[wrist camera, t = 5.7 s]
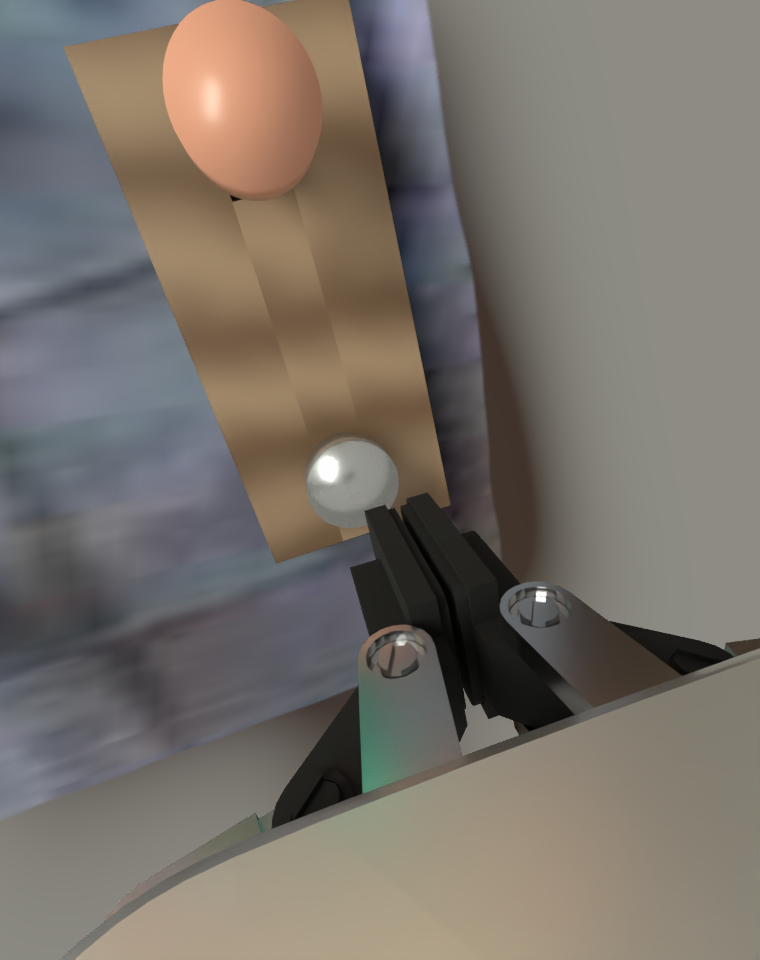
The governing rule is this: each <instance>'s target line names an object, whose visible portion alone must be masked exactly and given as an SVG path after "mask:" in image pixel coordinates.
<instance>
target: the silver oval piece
mask: <svg viewBox="0 0 760 960" xmlns="http://www.w3.org/2000/svg"><path fill="white" fill-rule="evenodd" d="M304 477H305V484H306V489H307V494H308V498H309V502H310V504H311V506H312V508H313V510H314V511H315V512H316V514H317V515H318V516H319V517H320V518H321V519H323V520H324V521H326V522H327V523H329V524H331V525H334V526H337V527H341V528H358V527H363V526H366V525H367V521H366V517H365V510H368V509H372V508H375V507H379V506H382V505H386V507H387V509H390V507H391V506H392V504H393V502H394V501H395V498H396V496H397V492H398V486H399V478H398V472H397V469H396V467H395V465H394V463H393V461H392V460H391V458H390V457H389V456H388V454H387V453H386V452H385V450H384V449H383V448H382V446H381V445H380V444H379V443H378V442H377V441H375V440H374V439H373V438H371V437H369V436H367V435H365V434H361V433H356V432H343V433H338V434H335V435H332V436H330V437H328V438H326V439H324V440H323V441H322V442H320V443H319V444H318V445H317V446H316V447H315V448H314V449H313V451H312V452H311V454H310V455H309V458H308V460H307V463H306V466H305V475H304Z"/></svg>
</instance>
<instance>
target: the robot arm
mask: <svg viewBox="0 0 760 960" xmlns="http://www.w3.org/2000/svg"><path fill="white" fill-rule="evenodd" d="M406 502H407V504H405V505H402V506H400V509H401V514H402V519H403V521H402V519H401V518H400V516H399V514H398V512H397V511H396V509H395V508H392V509H387V507H386V505H382V506H379V507H375V508H372V509H368V510H365V517H366V521H367V525H368V529H369V533H370V537H371V541H372V545H373V549H374V553H375V557H376V560H374V561H370V562H367V563H364V564H361V565H357V566H354V567H351V568H350V569H351V573H352V577H353V580H354V584H355V587H356V591H357V594H358V598H359V602H360V605H361V609H362V612H363V616H364V619H365V623H366V626H367V630H368V633H369V636H370V637H369V638H368V639H367V640H366V641H365V642H364V644H363V646H362V647H361V649H360V651H359V656H358V684H359V686H358V687H357V688H356V690H355V691H354V693H353V694H352V695H351V697H350V698H349V700H348V701H347V703H346V704H345V705H344V706H343V708H342V709H341V711H340V712H339V714H338V715H337V716H336V718H335V719H334V721H333V722H332V723H331V725H330V726H329V727H328V729H327V730H326V732H325V733H324V735H323V736H322V737H321V739H320V740H319V741H318V743H317V744H316V746H315V747H314V749H313V750H312V751H311V753H310V754H309V755H308V757H307V758H306V760H305V761H304V763H303V764H302V765H301V767H300V768H299V769H298V771H297V772H296V774H295V775H294V776H293V778H292V779H291V780H290V782H289V783H288V785H287V786H286V787H285V789H284V791H283V792H282V794H281V796H280V798H279V800H278V802H277V803H276V806H275V809H274V810H272V811H271V812H269V813H267V814H266V815H264V816H263V817H261V818H258V817H257V815H256V813H254V814H252V815H251V816H249V817H247V818H246V819H244V820H243V821H241V822H239V823H238V824H236V825H234V826H233V827H231V828H230V829H228V830H226V831H225V832H223V833H221V834H220V835H218V836H216V837H215V838H213V839H212V840H210V841H208V842H207V843H205V844H204V845H202V846H200V847H199V848H197V849H196V850H194V851H192V852H190V853H189V854H187V855H186V856H184V857H182V858H181V859H179V860H177V861H176V862H174V863H173V864H171V865H169V866H168V867H166V868H164V869H163V870H161V871H160V872H158V873H156V874H155V875H153V876H151V877H150V878H148V879H147V880H145V881H143V882H142V883H140V884H138V885H137V886H136V887H135V888H134V889H132V890H131V891H130V892H129V893H127V894H126V895H125V896H124V897H123V898H121V900H120V901H119V902H118V903H117V905H116V906H115V907H114V909H113V910H112V911H111V912H110V913H109V915H108V916H107V917H106V919H105V921H104V923H102V924H101V925H100V926H98V927H97V928H96V929H95V930H93V931H92V932H91V933H89V934H88V935H87V936H86V937H84V938H83V939H82V940H81V941H79V942H78V943H77V944H76V945H75V946H74V947H73V948H72V949H71V950H70V951H69V952H68V953H66V954H65V955H64V956H63V957H62V958H61V959H60V960H760V638H758V639H751V640H743V641H735V642H728V643H726V644H725V650H723V649H721V648H719V647H717V646H715V645H712V644H709V643H705V642H702V641H699V640H694V639H689V638H685V637H680V636H676V635H671V634H667V633H662V632H657V631H653V630H648V629H643V628H639V627H634V626H630V625H625V624H621V623H616V622H611V621H608V620H607V619H605V618H604V617H603V616H601V615H600V614H599V613H597V612H596V611H595V610H593V609H592V608H591V607H589V606H588V605H587V604H585V603H584V602H583V601H581V600H580V599H579V598H577V597H576V596H574V595H573V594H572V593H571V592H569V591H567V590H566V589H564V588H562V587H560V586H557V585H554V584H551V583H546V582H528V583H523V584H520V583H519V582H518V580H517V579H516V578H515V577H514V576H513V575H512V573H511V572H510V571H509V570H508V569H507V568H506V567H505V565H504V564H503V563H502V562H501V561H500V560H499V558H498V557H497V556H496V555H495V554H494V553H493V551H492V550H491V549H490V548H489V547H488V546H487V544H486V543H485V542H484V541H483V540H482V539H481V538H480V536H479V535H478V534H477V533H476V532H475V531H469V532H466V533H462V534H460V533H459V531H458V530H457V529H456V527H455V526H454V525H453V524H452V522H451V521H450V520H449V519H448V517H447V516H446V515H445V514H444V512H443V511H442V510H441V509H440V507H439V506H438V505H437V503H436V502H435V501H434V500H433V498H432V497H431V496H430V495H429V494H428V493H424V494H420V495H417V496H413V497H410V498H407V500H406ZM463 688H464V690H465V692H466V694H467V696H468V698H469V700H470V702H471V704H472V705H473V706H475V705H478V704H481V705H482V707H483V709H484V711H485V713H486V715H487V717H488V719H490V718H493V717H496V716H498V715H500V716H503V717H505V718H509V719H511V720H513V721H514V727H515V729H516V730H517V732H518V734H519V736H517V737H514V738H511V739H508V740H505V741H503V742H500V743H497V744H495V745H492V746H489V747H487V748H484V749H481V750H478V751H476V752H473V753H470V754H468V755H465V756H462V752H461V748H460V744H459V742H460V740H461V738H462V736H463V734H464V732H465V729H466V727H467V721H466V715H465V709H466V703H465V699H464V692H463Z"/></svg>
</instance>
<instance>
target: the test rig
mask: <svg viewBox="0 0 760 960" xmlns="http://www.w3.org/2000/svg"><path fill="white" fill-rule="evenodd" d="M262 8H263V9H265V10H267V11H269V12H270V13H272V14H273V15H275V16H276V17H277V18H279V19H280V20H281V21H282V22H283V23H284V24H285V25H286V26H287V27H288V28H290V30H291V31H292V32H293V33H294V34H295V36H296V37H297V38H298V39H299V41H300V42H301V44H302V45H303V47H304V48H305V50H306V52H307V54H308V56H309V57H310V59H311V61H312V64H313V66H314V69H315V71H316V74H317V78H318V81H319V85H320V90H321V95H322V106H323V116H322V127H321V133H320V137H319V141H318V144H317V147H316V150H315V153H314V156H313V159H312V162H311V164H310V167H309V169H308V170H307V172H306V174H305V175H304V177H303V178H302V179H301V181H300V182H299V183H298V184H297V185H296V186H295V187H294V188H293V189H291V190H290V191H289V192H287V193H286V194H284V195H282V196H280V197H277V198H274V199H271V200H265V201H250V200H244V199H241V198H237V197H234V196H232V195H230V194H227V193H226V192H224V191H222V190H220V189H219V188H218V187H216V186H215V185H214V184H212V183H211V182H210V181H209V180H208V179H207V178H206V177H205V176H203V174H202V173H201V172H200V171H199V170H198V169H197V167H196V166H195V165H194V163H193V162H192V160H191V159H190V157H189V155H188V154H187V152H186V150H185V148H184V147H183V145H182V143H181V141H180V140H179V138H178V136H177V134H176V132H175V130H174V128H173V126H172V123H171V121H170V118H169V115H168V112H167V108H166V104H165V99H164V94H163V81H162V78H163V64H164V58H165V53H166V50H167V47H168V43H169V41H170V39H171V37H172V35H173V33H174V31H175V30H176V28H177V27H178V25H179V24H175V25H170V26H165V27H160V28H156V29H151V30H146V31H141V32H136V33H131V34H126V35H121V36H116V37H111V38H106V39H101V40H96V41H91V42H86V43H81V44H76V45H71V46H66V47H64V50H65V52H66V55H67V57H68V59H69V62H70V64H71V67H72V69H73V72H74V74H75V76H76V79H77V81H78V84H79V86H80V89H81V91H82V93H83V96H84V98H85V101H86V103H87V106H88V108H89V110H90V113H91V115H92V118H93V120H94V123H95V125H96V127H97V130H98V132H99V135H100V137H101V140H102V142H103V144H104V147H105V149H106V152H107V154H108V157H109V159H110V161H111V164H112V166H113V169H114V171H115V174H116V176H117V178H118V181H119V183H120V186H121V188H122V191H123V193H124V195H125V198H126V200H127V203H128V205H129V208H130V210H131V212H132V215H133V217H134V220H135V222H136V225H137V227H138V229H139V232H140V234H141V237H142V239H143V242H144V244H145V246H146V249H147V251H148V254H149V256H150V259H151V261H152V263H153V266H154V268H155V271H156V273H157V276H158V278H159V280H160V283H161V285H162V288H163V290H164V293H165V295H166V297H167V300H168V302H169V305H170V307H171V310H172V312H173V314H174V317H175V319H176V322H177V324H178V327H179V329H180V331H181V334H182V336H183V339H184V341H185V344H186V346H187V348H188V351H189V353H190V356H191V358H192V361H193V363H194V365H195V368H196V370H197V373H198V375H199V378H200V380H201V382H202V385H203V387H204V390H205V392H206V395H207V397H208V399H209V402H210V404H211V407H212V409H213V412H214V414H215V416H216V419H217V421H218V424H219V426H220V428H221V431H222V433H223V436H224V438H225V441H226V443H227V445H228V448H229V450H230V453H231V455H232V458H233V460H234V462H235V465H236V467H237V470H238V472H239V475H240V477H241V479H242V482H243V484H244V487H245V489H246V492H247V494H248V496H249V499H250V501H251V504H252V506H253V509H254V511H255V513H256V516H257V518H258V521H259V523H260V526H261V528H262V530H263V533H264V535H265V538H266V540H267V543H268V545H269V547H270V550H271V552H272V555H273V557H274V560H275V562H276V563H279V562H282V561H285V560H288V559H291V558H294V557H297V556H300V555H303V554H306V553H309V552H312V551H315V550H318V549H321V548H324V547H327V546H330V545H333V544H336V543H339V542H342V541H345V540H348V539H351V538H354V537H357V536H360V535H363V534H366V533H369V529H368V525H366V526H363V527H358V528H341V527H337V526H334V525H331V524H329V523H327V522H326V521H324V520H323V519H321V518H320V517H319V516H318V515H317V514H316V512H315V511H314V510H313V508H312V506H311V504H310V502H309V498H308V494H307V489H306V484H305V477H304V475H305V466H306V463H307V460H308V458H309V455H310V454H311V452H312V451H313V449H314V448H315V447H316V446H317V445H318V444H319V443H320V442H322V441H323V440H324V439H326V438H328V437H330V436H332V435H335V434H338V433H343V432H356V433H361V434H365V435H367V436H369V437H371V438H373V439H374V440H375V441H377V442H378V443H379V444H380V445H381V446H382V448H383V449H384V450H385V452H386V453H387V454H388V456H389V457H390V458H391V460H392V461H393V463H394V465H395V467H396V469H397V472H398V478H399V486H398V492H397V496H396V498H395V501H394V502H393V504H392V506H391V507H390V509H392V508H395V509H396V511H397V512H398V514H399V516H400V518H401V519H402V514H401V509H400V506H402V505H405V504H407V502H406V500H407V498H410V497H413V496H417V495H420V494H424V493H428V494H429V495H430V496H431V497H432V498H433V500H434V501H435V502H436V503H437V505H438V506H439V507H440V509H441V508H444V507H447V506H450V500H449V495H448V490H447V485H446V480H445V475H444V470H443V465H442V460H441V455H440V450H439V445H438V440H437V435H436V430H435V425H434V420H433V415H432V410H431V405H430V401H429V396H428V391H427V386H426V381H425V376H424V371H423V366H422V361H421V356H420V351H419V346H418V341H417V336H416V331H415V326H414V321H413V316H412V311H411V306H410V301H409V296H408V292H407V287H406V282H405V277H404V272H403V267H402V262H401V257H400V252H399V247H398V242H397V237H396V232H395V227H394V222H393V217H392V212H391V207H390V202H389V197H388V192H387V188H386V183H385V178H384V173H383V168H382V163H381V158H380V153H379V148H378V143H377V138H376V133H375V128H374V123H373V118H372V113H371V108H370V103H369V98H368V93H367V88H366V83H365V79H364V74H363V69H362V64H361V59H360V54H359V49H358V44H357V39H356V34H355V29H354V24H353V19H352V14H351V9H350V4H349V0H295V1H290V2H285V3H280V4H275V5H270V6H265V7H262ZM402 521H403V519H402Z"/></svg>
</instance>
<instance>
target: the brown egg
mask: <svg viewBox="0 0 760 960" xmlns="http://www.w3.org/2000/svg"><path fill="white" fill-rule="evenodd" d="M162 81H163V94H164V99H165V104H166V108H167V112H168V115H169V118H170V121H171V123H172V126H173V128H174V130H175V132H176V134H177V136H178V138H179V140H180V141H181V143H182V145H183V147H184V148H185V150H186V152H187V154H188V155H189V157H190V159H191V160H192V162H193V163H194V165H195V166H196V167H197V169H198V170H199V171H200V172H201V173H202V174H203V176H205V177H206V178H207V179H208V180H209V181H210V182H211V183H212V184H214V185H215V186H216V187H218V188H219V189H220V190H222V191H224V192H226V193H227V194H230V195H232V196H234V197H237V198H241V199H244V200H250V201H265V200H271V199H274V198H277V197H280V196H282V195H284V194H286V193H287V192H289V191H290V190H291V189H293V188H294V187H295V186H296V185H297V184H298V183H299V182H300V181H301V179H302V178H303V177H304V175H305V174H306V172H307V170H308V169H309V167H310V164H311V162H312V159H313V156H314V153H315V150H316V147H317V144H318V141H319V137H320V133H321V127H322V116H323V106H322V95H321V90H320V85H319V81H318V78H317V74H316V71H315V69H314V66H313V64H312V61H311V59H310V57H309V56H308V54H307V52H306V50H305V48H304V47H303V45H302V44H301V42H300V41H299V39H298V38H297V37H296V36H295V34H294V33H293V32H292V31H291V30H290V28H288V27H287V26H286V25H285V24H284V23H283V22H282V21H281V20H280V19H279V18H277V17H276V16H275V15H273V14H272V13H270V12H269V11H267V10H265V9H263V8H262V7H260V6H257V5H254V4H252V3H249V2H245V1H241V0H216V1H212V2H209V3H206V4H204V5H202V6H200V7H198V8H196V9H195V10H193V11H192V12H191V13H189V14H188V15H187V16H186V17H185V18H184V19H183V20H182V21H181V22H180V24H179V25H178V27H177V28H176V30H175V31H174V33H173V35H172V37H171V39H170V41H169V43H168V47H167V50H166V53H165V58H164V64H163V78H162Z"/></svg>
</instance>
